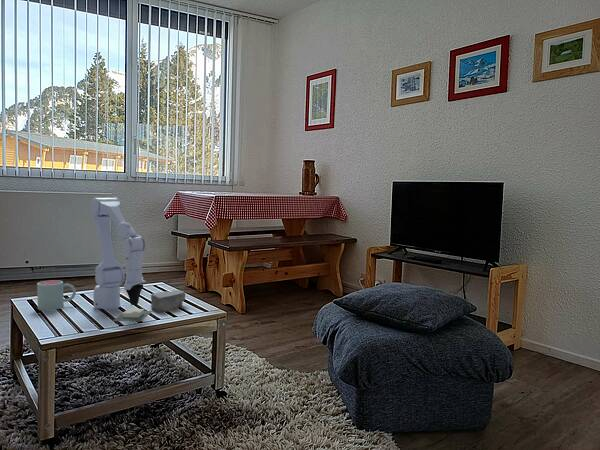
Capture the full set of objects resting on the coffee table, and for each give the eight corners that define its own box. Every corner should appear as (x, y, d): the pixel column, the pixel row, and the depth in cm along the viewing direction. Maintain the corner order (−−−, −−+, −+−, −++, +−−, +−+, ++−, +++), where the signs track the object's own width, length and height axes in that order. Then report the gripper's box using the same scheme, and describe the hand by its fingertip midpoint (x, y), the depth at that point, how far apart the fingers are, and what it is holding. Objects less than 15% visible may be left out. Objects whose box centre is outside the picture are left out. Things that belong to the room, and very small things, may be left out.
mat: (112, 322, 173) (112, 320, 173) (127, 311, 187) (127, 310, 187) (140, 323, 173) (140, 321, 173) (152, 312, 187) (152, 311, 186)
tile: (128, 313, 183) (122, 317, 177) (128, 308, 182) (122, 313, 177) (144, 313, 183) (138, 318, 177) (144, 309, 182) (138, 313, 176)
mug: (37, 311, 185) (36, 286, 184) (38, 305, 193) (37, 281, 192) (76, 307, 191) (76, 283, 190) (75, 302, 199) (75, 278, 198)
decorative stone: (145, 313, 186) (166, 315, 183) (144, 296, 186) (166, 297, 183) (167, 305, 200) (188, 306, 197) (167, 288, 200) (187, 290, 196)
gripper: (137, 272, 172) (138, 309, 173) (150, 265, 186) (151, 300, 187) (118, 272, 172) (118, 309, 173) (132, 265, 186) (133, 299, 187)
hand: (134, 304), depth 180 cm, fingers closed
